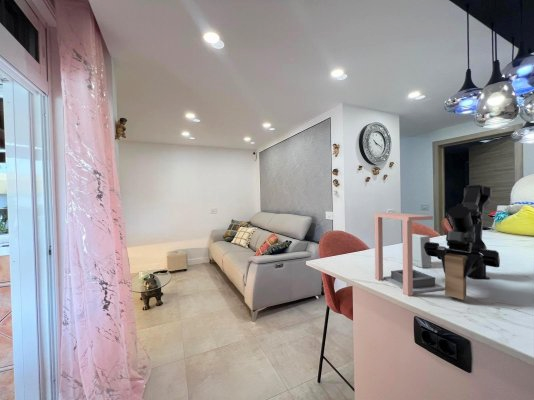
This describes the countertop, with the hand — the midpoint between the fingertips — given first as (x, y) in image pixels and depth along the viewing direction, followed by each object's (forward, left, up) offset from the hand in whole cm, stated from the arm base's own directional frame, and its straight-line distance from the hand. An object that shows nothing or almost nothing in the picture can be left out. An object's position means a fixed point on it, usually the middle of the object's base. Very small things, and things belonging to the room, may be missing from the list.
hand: (454, 275), depth 69 cm
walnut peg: (-1, -1, -7) cm, 7 cm away
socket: (+6, -13, -8) cm, 17 cm away
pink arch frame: (+11, -11, -8) cm, 18 cm away
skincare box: (-10, -36, -9) cm, 38 cm away
